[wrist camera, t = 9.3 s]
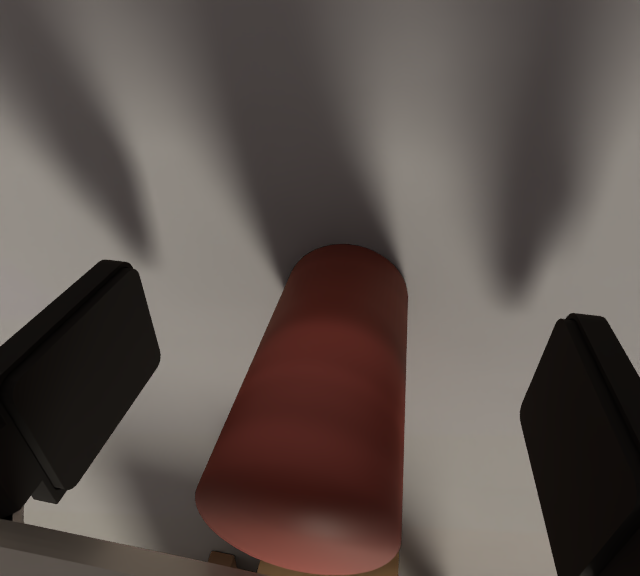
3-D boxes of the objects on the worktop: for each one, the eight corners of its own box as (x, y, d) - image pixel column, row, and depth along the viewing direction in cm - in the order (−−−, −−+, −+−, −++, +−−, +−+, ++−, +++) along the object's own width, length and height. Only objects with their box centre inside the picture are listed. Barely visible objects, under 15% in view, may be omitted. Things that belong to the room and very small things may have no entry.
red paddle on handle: (250, 235, 11) (117, 434, 6) (454, 253, 10) (489, 497, 5) (283, 552, 21) (243, 725, 16) (388, 573, 20) (379, 762, 15)
